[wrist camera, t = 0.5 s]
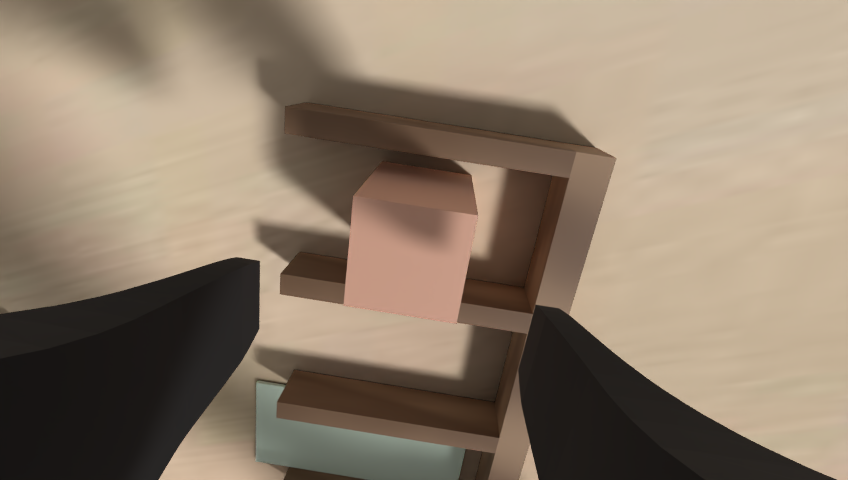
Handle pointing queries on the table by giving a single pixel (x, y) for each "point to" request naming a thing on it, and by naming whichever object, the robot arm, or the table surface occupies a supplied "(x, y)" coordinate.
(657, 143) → the table surface
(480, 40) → the table surface
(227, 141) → the table surface
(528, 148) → the notched rack
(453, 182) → the terracotta block
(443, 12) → the table surface
